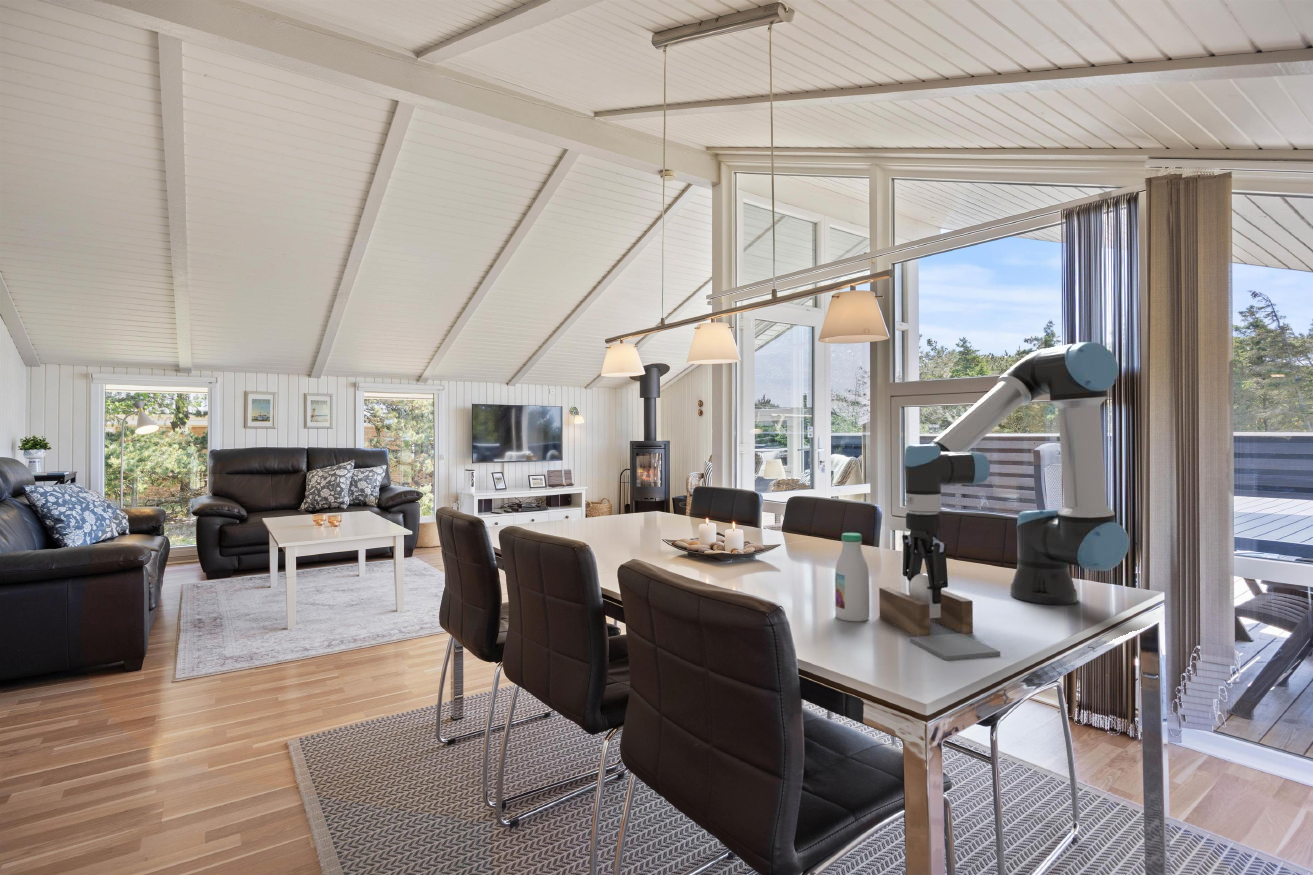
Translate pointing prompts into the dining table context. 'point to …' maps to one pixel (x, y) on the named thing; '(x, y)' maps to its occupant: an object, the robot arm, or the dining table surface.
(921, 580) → the lightbulb
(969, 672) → the dining table surface
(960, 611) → the walnut slot
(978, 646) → the grey pad
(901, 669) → the dining table surface
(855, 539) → the milk bottle
